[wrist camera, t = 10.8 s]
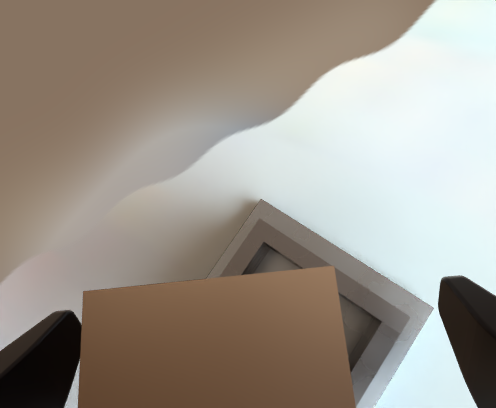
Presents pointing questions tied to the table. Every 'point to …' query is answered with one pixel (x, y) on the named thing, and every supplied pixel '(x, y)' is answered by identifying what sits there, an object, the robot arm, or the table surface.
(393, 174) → the table surface
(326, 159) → the table surface
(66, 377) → the robot arm
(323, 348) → the walnut post
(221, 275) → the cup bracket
